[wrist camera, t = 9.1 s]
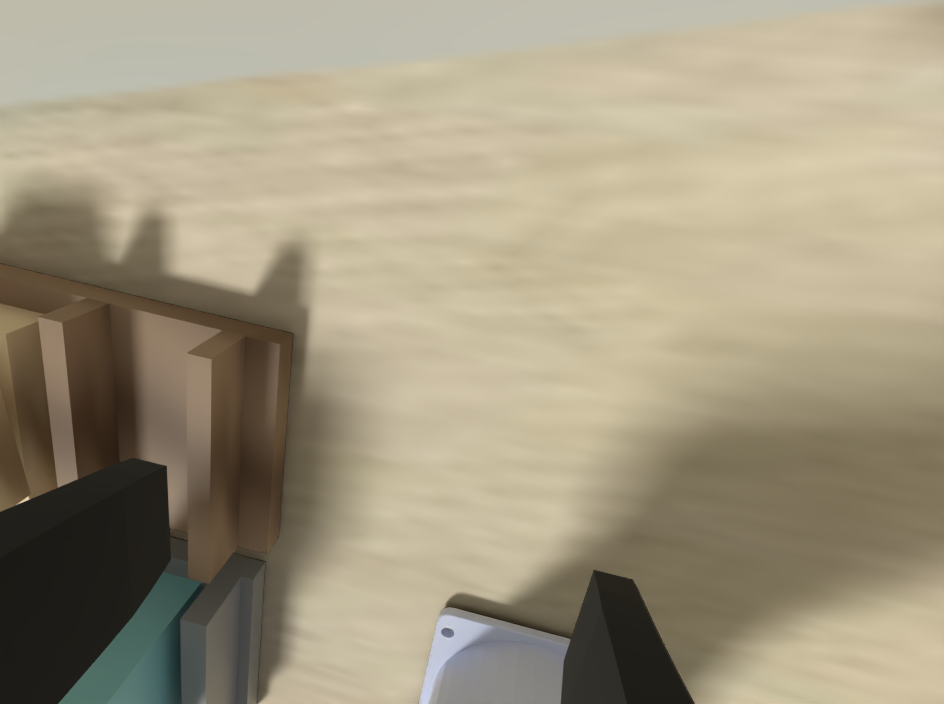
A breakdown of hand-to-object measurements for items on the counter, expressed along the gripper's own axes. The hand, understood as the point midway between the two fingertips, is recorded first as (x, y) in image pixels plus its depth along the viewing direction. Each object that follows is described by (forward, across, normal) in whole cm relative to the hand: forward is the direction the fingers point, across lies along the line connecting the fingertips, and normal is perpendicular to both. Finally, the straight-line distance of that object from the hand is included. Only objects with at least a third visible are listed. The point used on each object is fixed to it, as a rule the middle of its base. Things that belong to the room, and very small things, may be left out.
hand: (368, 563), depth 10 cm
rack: (+10, +12, +6) cm, 17 cm away
